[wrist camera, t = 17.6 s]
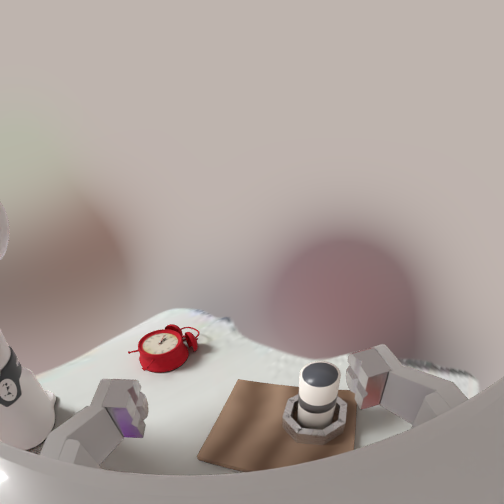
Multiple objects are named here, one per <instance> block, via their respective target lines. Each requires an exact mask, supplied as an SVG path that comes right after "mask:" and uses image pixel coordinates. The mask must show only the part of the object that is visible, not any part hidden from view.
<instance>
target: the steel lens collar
mask: <svg viewBox="0 0 504 504" xmlns="http://www.w3.org/2000/svg"><path fill="white" fill-rule="evenodd" d="M296 411H298V394H297V395H295V396H293V397H291V398H289V399H288V401H287V404H286V407H285V411H284V414H283V417H282V422H283V428H284V429H285V430H286V432H287V433H288V434H289V435H290V436H291V437H292V438H293V439H294V440H295V442H296V443H302V444H312V445H324V444H326V443H328V442H329V441H331V440H332V439H334V438H336V437H337V436H339V435H340V434H342V433H343V431H344V427H345V423H346V412H347V403H346V402H344V401H343V400H342V399H341V398H340V397H338V396H337V401H336V405H335V410H334V413H335V414H337V415H338V421H336V422H334V423H333V424H331V425H330V426H328V427H326V428H325V429H323V430H318V429H307V428H301V427H300V426H299V425H298V424H297V422H296V421H295V420H294V419H293V414H294V412H296Z"/></svg>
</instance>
